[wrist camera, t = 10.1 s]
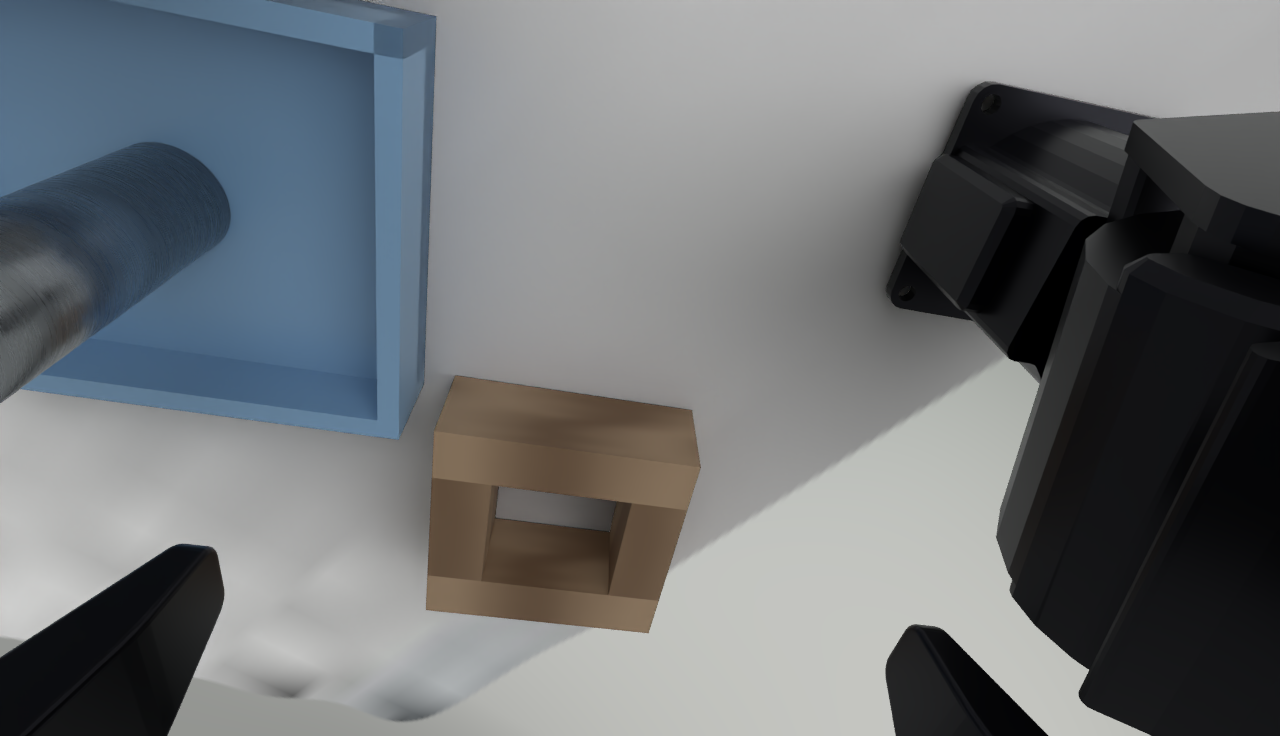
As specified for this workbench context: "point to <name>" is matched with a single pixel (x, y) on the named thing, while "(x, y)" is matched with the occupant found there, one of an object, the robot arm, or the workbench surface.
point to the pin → (97, 248)
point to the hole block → (563, 464)
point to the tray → (248, 195)
